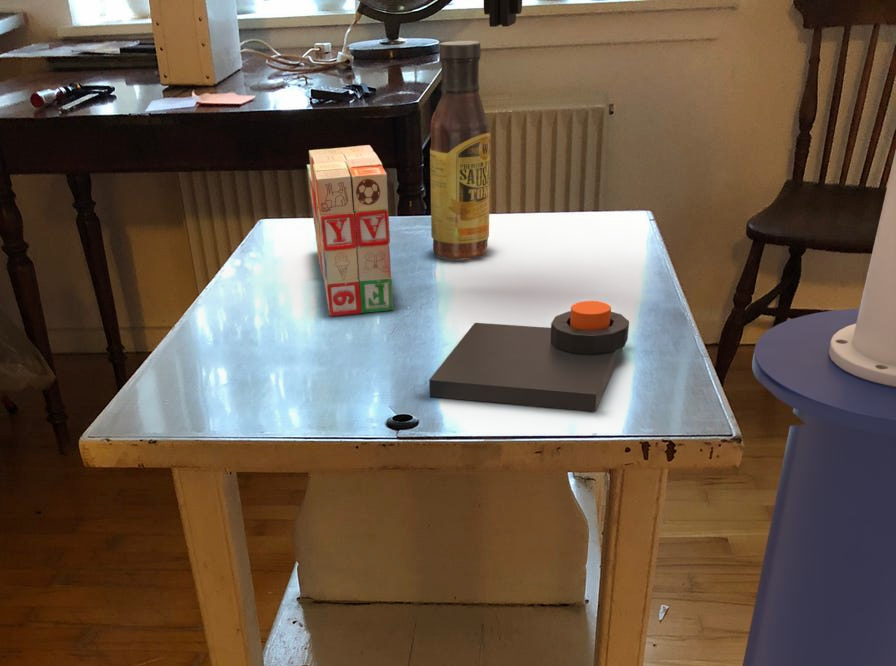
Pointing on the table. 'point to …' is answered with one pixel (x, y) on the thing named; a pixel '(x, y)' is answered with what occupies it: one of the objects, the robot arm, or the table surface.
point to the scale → (533, 364)
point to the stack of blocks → (351, 228)
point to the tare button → (590, 315)
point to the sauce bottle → (460, 157)
